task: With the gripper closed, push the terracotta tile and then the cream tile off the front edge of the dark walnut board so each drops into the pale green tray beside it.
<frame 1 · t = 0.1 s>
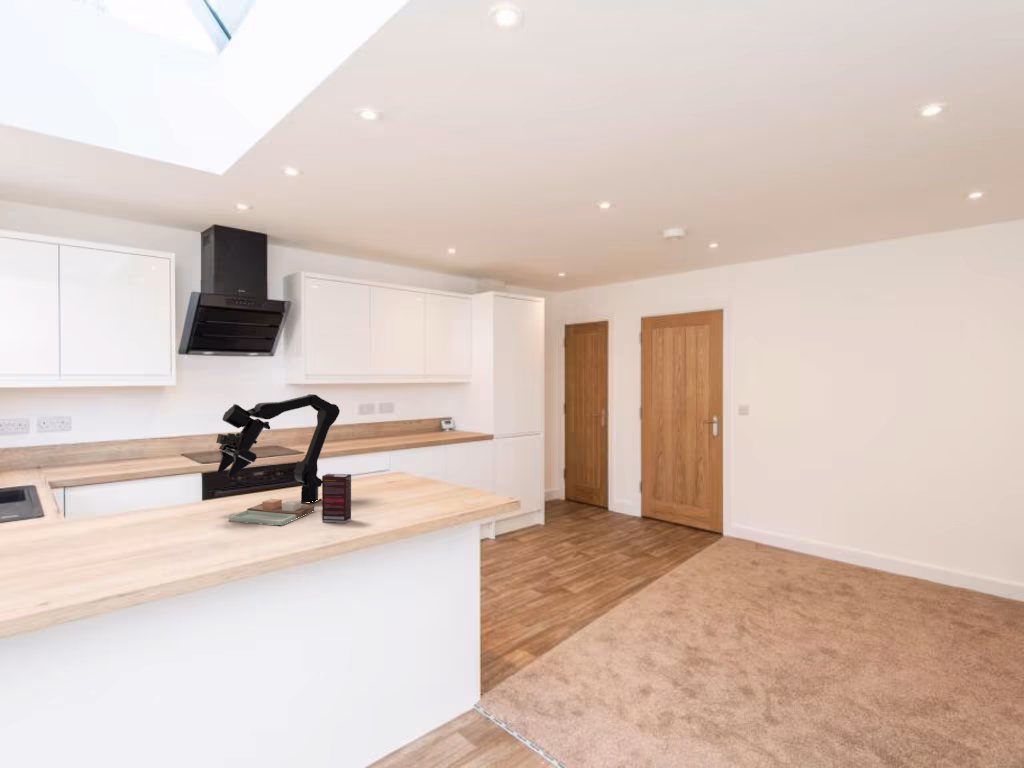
hand: (223, 474, 178), 15 cm above the table, tool tilted 35°, fingers open, 9 cm apart
supplement box: (336, 521, 176), on the table
cream tile: (291, 509, 183), point 2 cm above the table, touching walnut board
green tray: (263, 520, 176), on the table
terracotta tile: (272, 507, 184), point 2 cm above the table, touching walnut board
walnut board: (281, 513, 185), on the table
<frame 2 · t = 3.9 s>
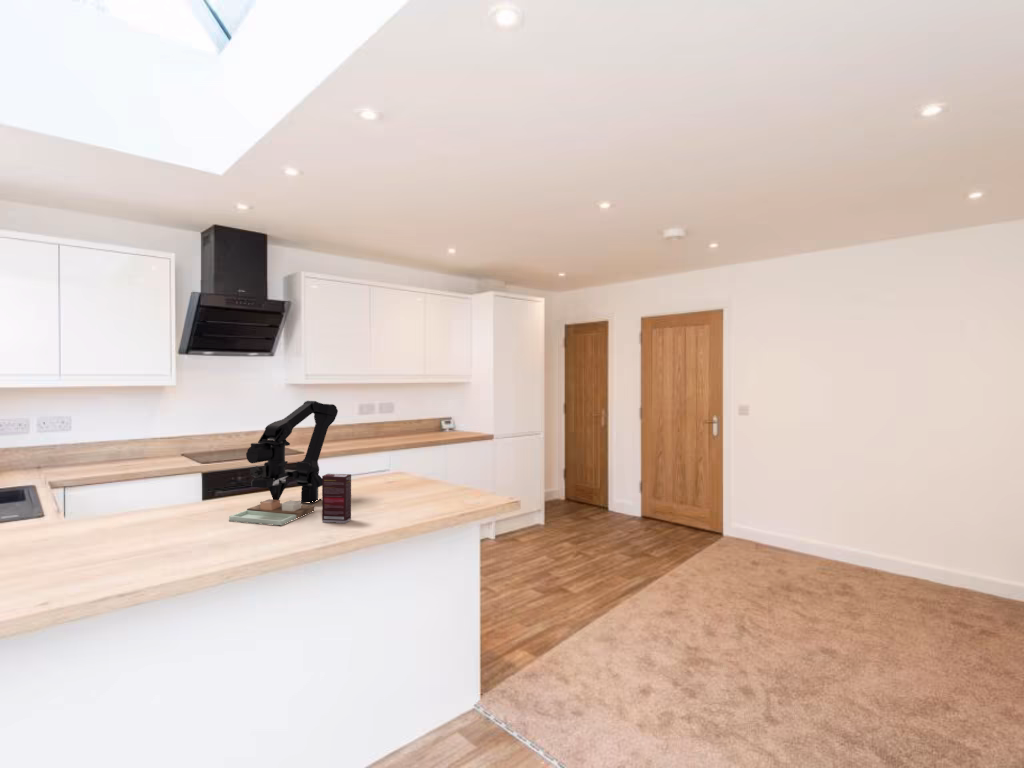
hand: (275, 502, 187), 3 cm above the table, tool pointing down, fingers closed
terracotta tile: (270, 508, 184), point 2 cm above the table, touching gripper, walnut board
everything else where it was.
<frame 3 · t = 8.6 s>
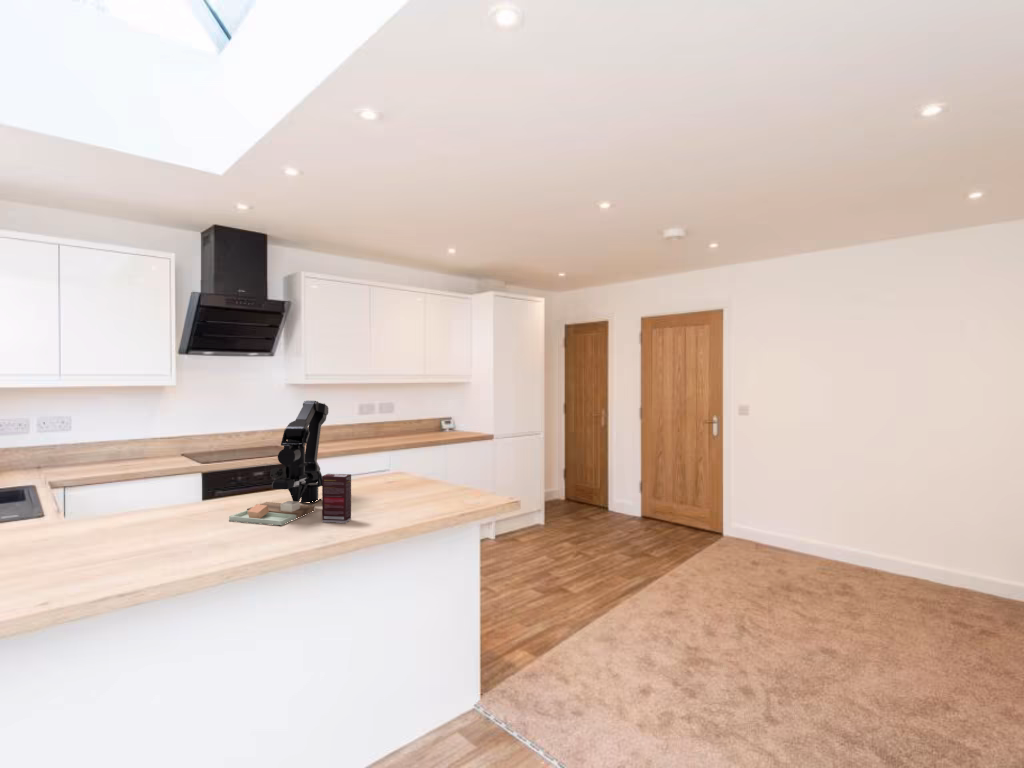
hand: (296, 503, 185), 3 cm above the table, tool pointing down, fingers closed
cream tile: (290, 509, 182), point 2 cm above the table, touching gripper
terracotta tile: (259, 514, 178), point 1 cm above the table, tilted 19°, touching green tray
everything else where it was.
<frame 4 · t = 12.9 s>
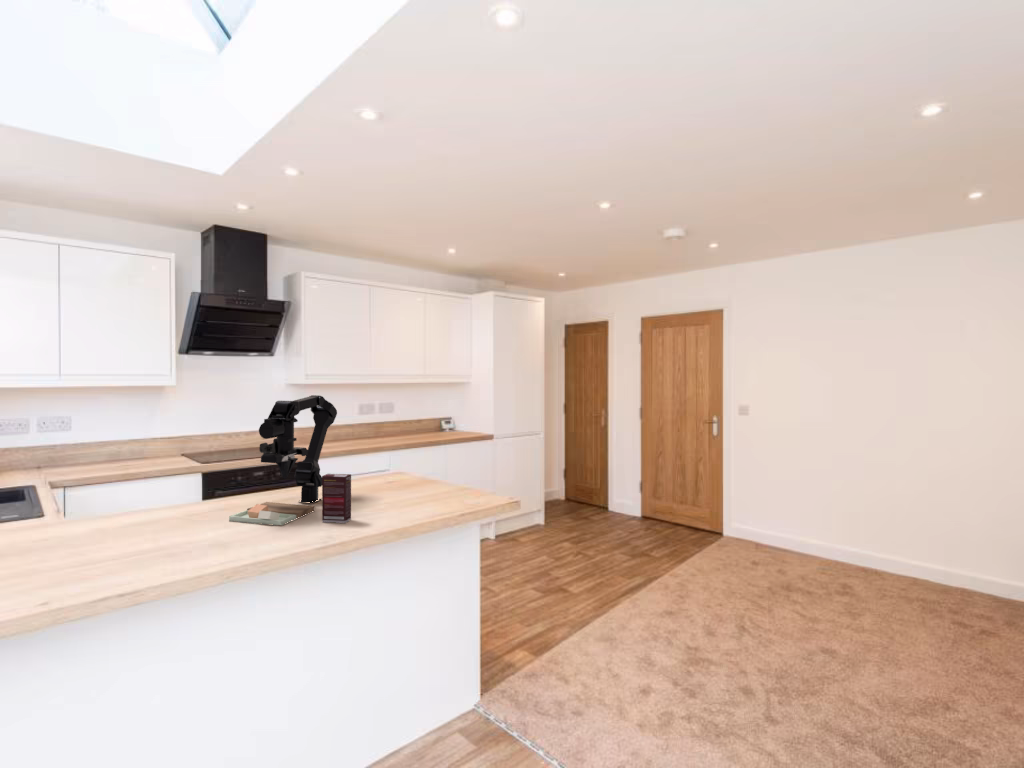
hand: (285, 478, 186), 12 cm above the table, tool pointing down, fingers closed
cream tile: (270, 511, 173), point 4 cm above the table, tilted 158°, touching green tray
everything else where it was.
at the end: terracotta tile inside the target area (3.9 cm from its centre), point 1.1 cm above the table; cream tile inside the target area (4.4 cm from its centre), point 3.6 cm above the table; supplement box moved 0.2 cm from its start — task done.
